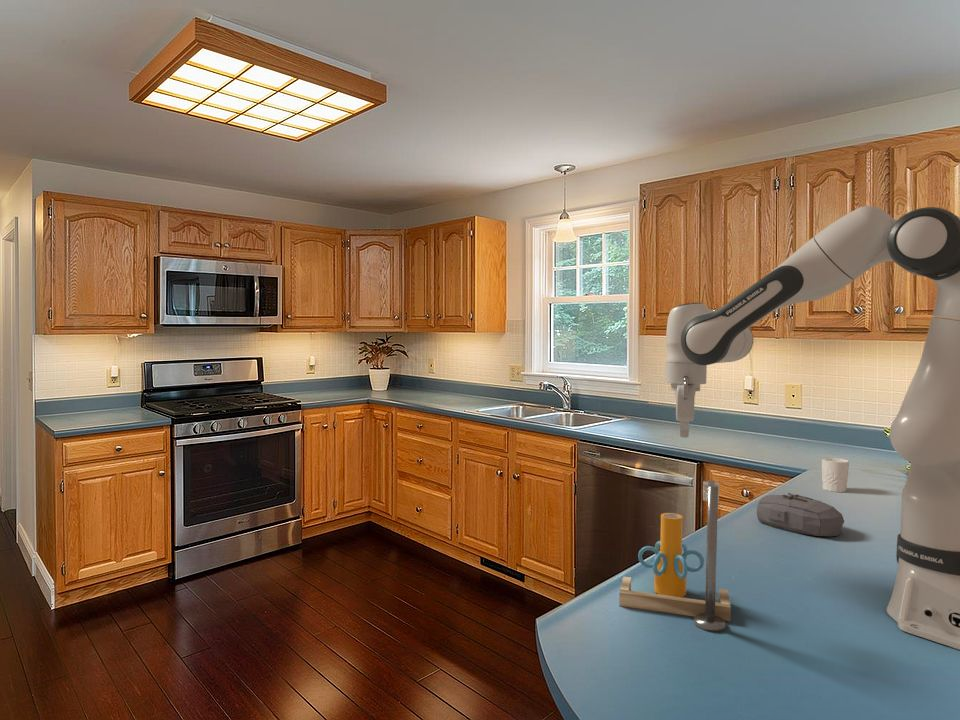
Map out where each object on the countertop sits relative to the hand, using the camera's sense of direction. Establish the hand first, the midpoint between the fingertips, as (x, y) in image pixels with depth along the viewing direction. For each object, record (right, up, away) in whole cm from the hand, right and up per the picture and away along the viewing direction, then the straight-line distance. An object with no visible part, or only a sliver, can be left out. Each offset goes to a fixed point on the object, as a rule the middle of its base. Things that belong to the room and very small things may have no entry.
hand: (684, 436), depth 139 cm
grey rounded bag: (+38, -27, +23) cm, 52 cm away
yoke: (-10, -28, -25) cm, 39 cm away
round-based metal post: (-6, -28, -31) cm, 42 cm away
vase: (-9, -28, -20) cm, 35 cm away
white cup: (+71, -26, +64) cm, 99 cm away
